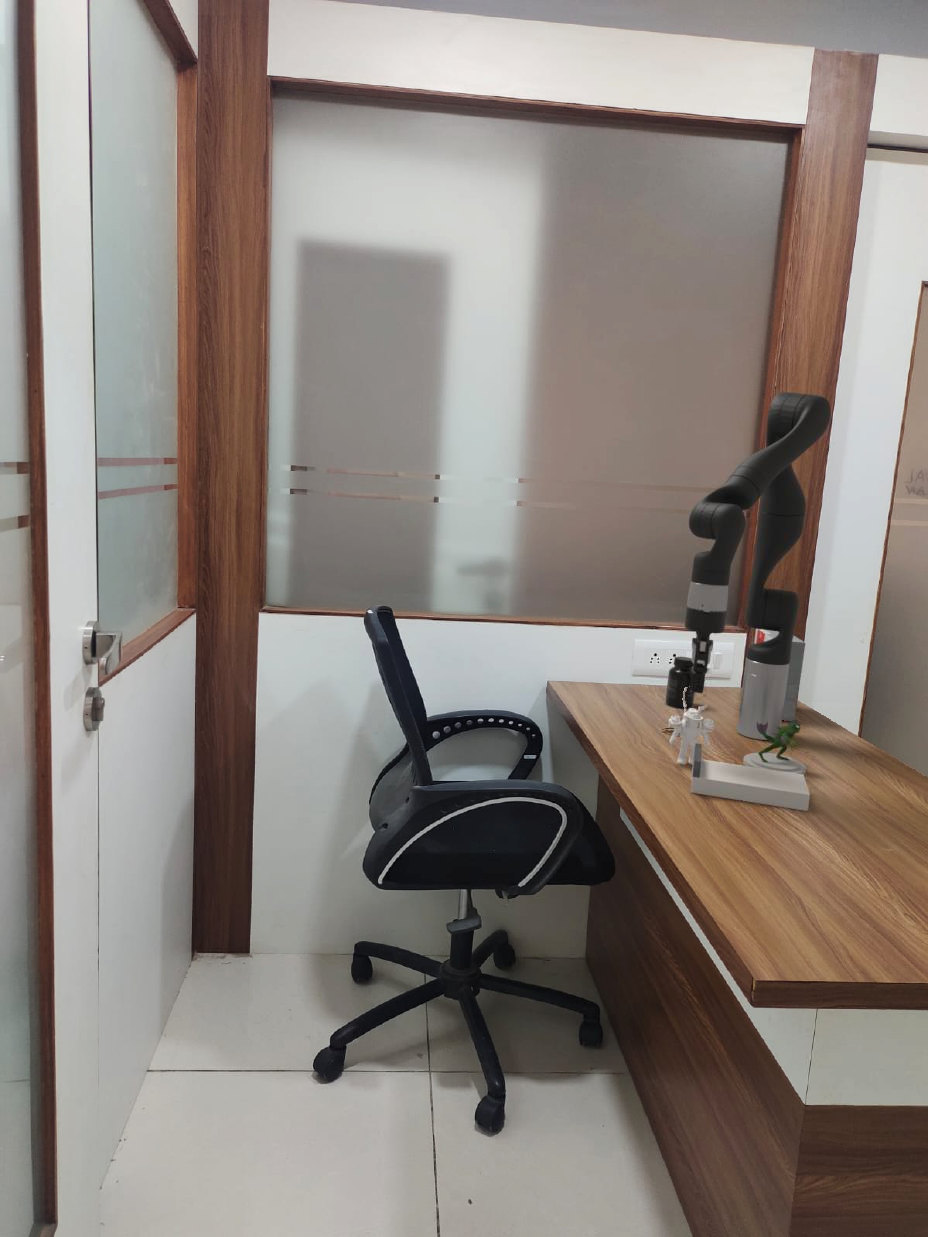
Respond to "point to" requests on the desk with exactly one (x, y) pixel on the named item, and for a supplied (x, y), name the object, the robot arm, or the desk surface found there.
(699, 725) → the white toy figure
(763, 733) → the monster figurine
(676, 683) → the supplement bottle
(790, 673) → the hard drive box
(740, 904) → the desk surface
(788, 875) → the desk surface
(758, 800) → the shelf board
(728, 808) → the desk surface
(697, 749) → the rail
